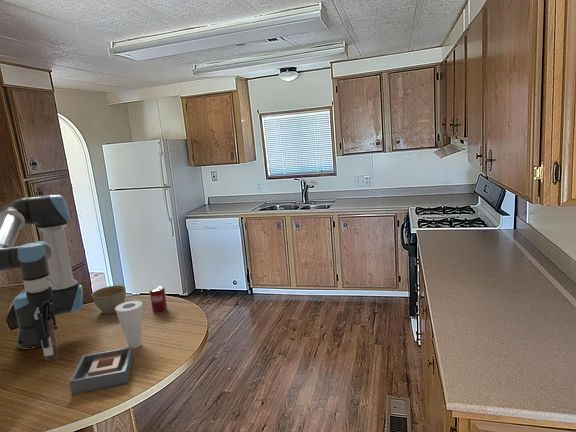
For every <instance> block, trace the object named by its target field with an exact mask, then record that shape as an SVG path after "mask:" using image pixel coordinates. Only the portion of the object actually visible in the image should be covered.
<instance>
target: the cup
mask: <svg viewBox="0 0 576 432" xmlns="http://www.w3.org/2000/svg"><path fill="white" fill-rule="evenodd" d="M115 310H116V312H115V313H116V315H117V318H118V322H119V323H120V326H121V328H122V329H121V330H122V332H123V335H124V337H125V341H126V343H127V345H128V347H132V348H133V349H136V348H139V347H140V346H141V345H142V325H143V324H142V323H143V322H142V321H143V302H142V301H140V300H130V301H124V303H122V304H120V305H118V306H116V308H115Z"/></svg>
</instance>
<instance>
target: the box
mask: <svg viewBox="0 0 576 432" xmlns="http://www.w3.org/2000/svg"><path fill="white" fill-rule="evenodd" d="M134 359H135V357H134V348H132V347H129V346H128V347H122V348H118V349H113V350H107V351H101V352H95V353H90V354H83V355H82V356H81V358H80V360H79V363H78V364H77V366H76V368H75V370H74V372H73V374H72V375H71V378H70V379H69V387H70V393H71V395H78V394H83V393H88V392H89V393H90V392H93V391H99V390H105V389H109V388H113V387H114V388H115V387H120V386H125V385H128V383H129V379H130V376H131V371H132V368H133V364H134Z"/></svg>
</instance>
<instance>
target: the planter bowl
mask: <svg viewBox="0 0 576 432" xmlns="http://www.w3.org/2000/svg"><path fill="white" fill-rule="evenodd" d="M126 294H127V293H126V287H125V286H124V285H110V286H106V287H102V288H100V289H97V290H95V291H93V293H91V298H92V300H93V304H94V305H95V306H96V308H98V310H99V311H100V312H102V314H104V315H110V314H111V315H112V314H115V313H116V310H115V308H116V306H118V305H120V304H122V303H125V302H126V301H125V300H126V296H127V295H126Z"/></svg>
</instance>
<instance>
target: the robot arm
mask: <svg viewBox="0 0 576 432" xmlns="http://www.w3.org/2000/svg"><path fill="white" fill-rule="evenodd" d="M69 220H71V215H70V209H69V206H68V203H67V201H66V199H65V197H64V196H63V195H60V194H47V195H40V196H39V195H37V196H32V197H31V196H30V197H22V198H18V199H15V200H13V201H12V202H11V201H10V203H8V204H7V205H5V206H4V207H3V208H2V209H1V210H0V271H6V270H11V269H18V268H19V269H20V271H21V275H22V281H23V286H24V292H22V293H20V294H18V295H16V296H15V297H14V299H13V306H14V308H13V309H14V312H15V316H16V321H17V326H18V332H17V333H18V334H17V339H16V346H17V345H18V346H17V348H18V347H21V348H32V347H38V346H41V345H42V346H41V348H42V352H43V356H44V357H45V356H49V355H53V354H54V352H53V347H52V342H51V337H49V333H48V324H47V319H52V321H53V326H54V331H55V336H56V337H58V335H57V334H58V333H57V331H56V330H58V326H57V321H56V319H57V318H56V317H57V316H61V315H66V314H72V313H75V312H79V311H80V310H82V307H83V300H84V297H83V295H84V291H83V284H79V282H78V280H76V279H75V278H74V276H73V270H72V263H71V258H70V254H69V248H68V247H69V246H68V241H67V236H66V235H67V234H66V230H65V228H66V226H67V225H68V221H69ZM28 225H36V228H37V229H38V230H40V231H41V233H42V238H43V240H41V241H40V240H37V241H34V242H30V243H25V244H23V245H16V246H15V244H16V241H17V238H18V235H19V232H20V230H21V229H22V228H23V227H24V226H28ZM56 342H57V347H58V348H59V345H58V340H57V338H56ZM38 348H39V347H38Z"/></svg>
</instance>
